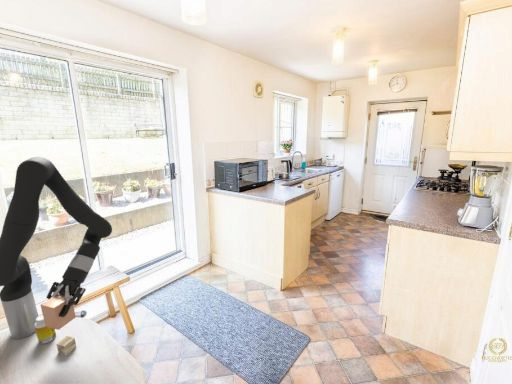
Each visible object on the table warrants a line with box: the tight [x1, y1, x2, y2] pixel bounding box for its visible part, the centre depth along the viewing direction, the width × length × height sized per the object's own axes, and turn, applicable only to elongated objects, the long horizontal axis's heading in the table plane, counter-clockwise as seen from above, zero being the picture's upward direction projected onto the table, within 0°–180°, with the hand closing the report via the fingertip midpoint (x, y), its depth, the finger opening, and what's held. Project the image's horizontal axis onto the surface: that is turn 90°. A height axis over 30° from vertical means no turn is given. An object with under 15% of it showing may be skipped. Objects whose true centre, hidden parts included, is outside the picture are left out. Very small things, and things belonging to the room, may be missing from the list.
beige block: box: [56, 335, 77, 355], centre depth 96 cm, size 4×4×4 cm
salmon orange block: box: [40, 294, 76, 331], centre depth 93 cm, size 6×6×9 cm
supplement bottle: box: [34, 313, 57, 344], centre depth 101 cm, size 6×6×10 cm
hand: (54, 314), depth 91 cm, fingers closed on salmon orange block, 6 cm apart
